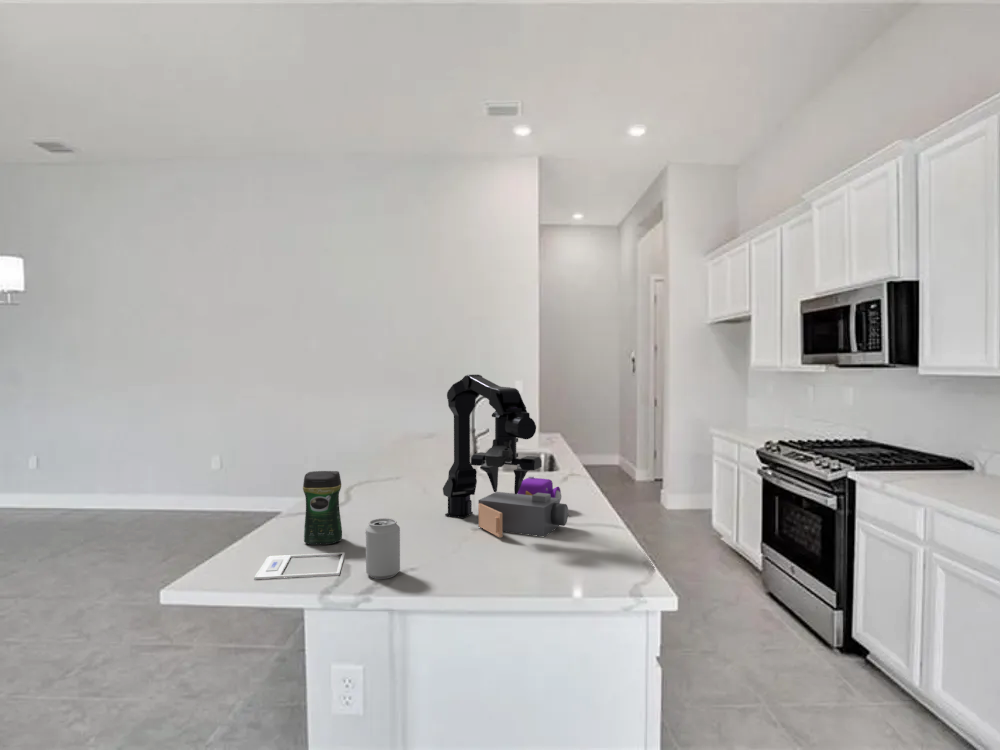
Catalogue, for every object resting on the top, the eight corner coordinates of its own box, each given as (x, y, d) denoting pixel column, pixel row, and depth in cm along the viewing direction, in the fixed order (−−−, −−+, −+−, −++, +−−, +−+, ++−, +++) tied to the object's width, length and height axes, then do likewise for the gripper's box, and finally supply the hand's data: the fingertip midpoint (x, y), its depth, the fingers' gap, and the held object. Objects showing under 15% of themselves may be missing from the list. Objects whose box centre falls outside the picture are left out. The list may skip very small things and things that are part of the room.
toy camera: (559, 515, 188) (560, 483, 188) (516, 513, 191) (516, 481, 190) (563, 507, 199) (563, 476, 198) (521, 504, 201) (521, 474, 201)
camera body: (478, 527, 174) (478, 494, 173) (496, 518, 185) (497, 486, 184) (554, 538, 164) (554, 503, 164) (569, 527, 175) (569, 494, 174)
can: (368, 568, 140) (368, 516, 140) (401, 567, 141) (401, 516, 140) (363, 580, 133) (363, 526, 132) (398, 579, 133) (398, 525, 133)
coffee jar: (344, 536, 165) (343, 468, 165) (338, 545, 158) (338, 473, 157) (307, 537, 165) (307, 468, 164) (300, 546, 157) (299, 474, 156)
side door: (475, 526, 172) (475, 503, 172) (481, 525, 173) (481, 503, 173) (497, 537, 162) (497, 513, 161) (502, 537, 162) (502, 513, 162)
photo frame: (268, 555, 148) (344, 551, 151) (268, 559, 148) (344, 556, 151) (254, 576, 133) (339, 572, 136) (254, 581, 133) (339, 577, 136)
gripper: (460, 436, 161) (460, 495, 161) (525, 440, 153) (525, 503, 153) (480, 432, 171) (480, 487, 171) (542, 435, 163) (542, 494, 163)
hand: (505, 492), depth 165 cm, fingers open, 6 cm apart
